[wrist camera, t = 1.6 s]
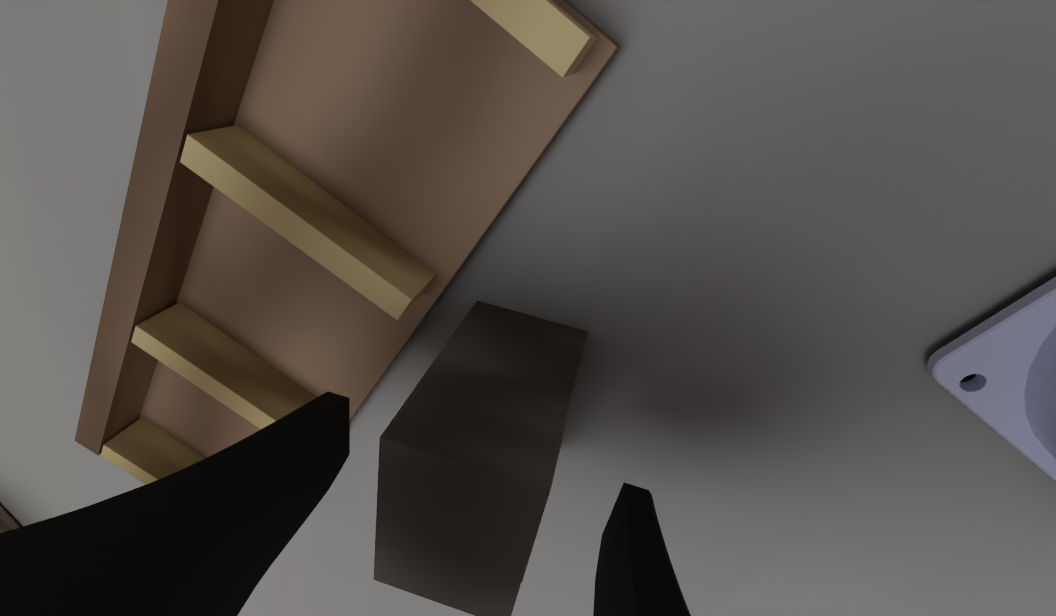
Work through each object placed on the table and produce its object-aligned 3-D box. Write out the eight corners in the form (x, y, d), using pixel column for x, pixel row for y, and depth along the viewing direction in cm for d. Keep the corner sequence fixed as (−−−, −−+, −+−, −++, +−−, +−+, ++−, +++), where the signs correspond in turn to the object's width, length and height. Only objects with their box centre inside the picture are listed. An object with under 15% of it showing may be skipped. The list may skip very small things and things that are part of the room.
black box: (589, 331, 14) (551, 493, 9) (554, 448, 17) (509, 627, 12) (475, 299, 15) (377, 437, 10) (457, 418, 17) (371, 579, 12)
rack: (619, 47, 11) (611, 46, 9) (290, 505, 22) (251, 553, 20) (313, -216, 10) (222, -287, 8) (130, 400, 21) (72, 439, 19)
